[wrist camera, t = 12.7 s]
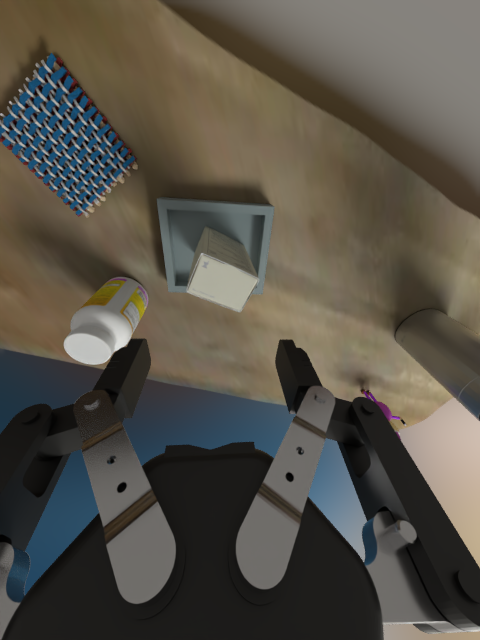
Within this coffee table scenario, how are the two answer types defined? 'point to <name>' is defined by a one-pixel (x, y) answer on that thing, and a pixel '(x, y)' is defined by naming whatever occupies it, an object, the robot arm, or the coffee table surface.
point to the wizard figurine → (385, 412)
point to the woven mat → (65, 138)
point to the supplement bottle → (106, 321)
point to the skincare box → (222, 271)
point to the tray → (225, 217)
